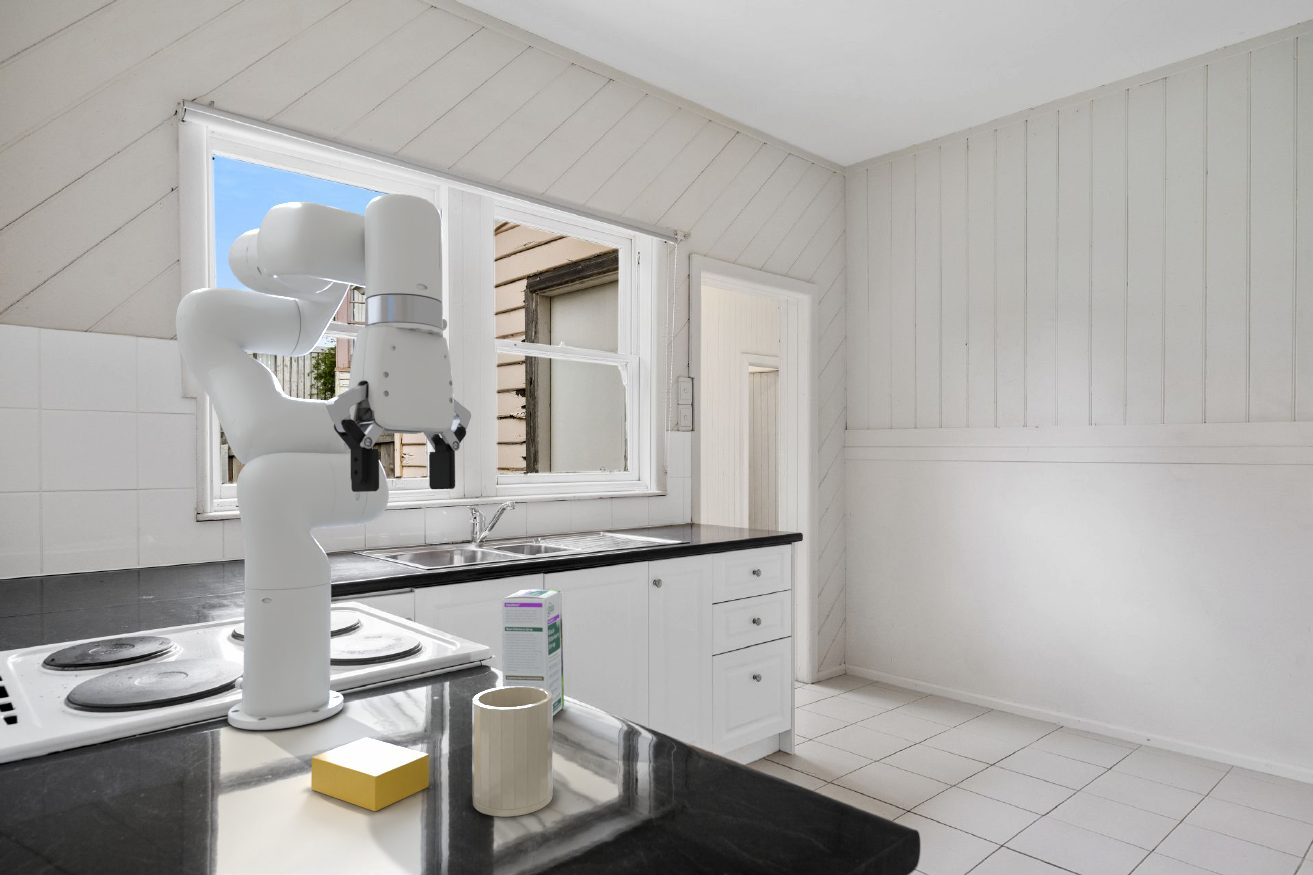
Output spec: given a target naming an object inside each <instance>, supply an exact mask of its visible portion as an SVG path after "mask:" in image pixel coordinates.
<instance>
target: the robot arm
mask: <svg viewBox="0 0 1313 875" xmlns="http://www.w3.org/2000/svg"><path fill="white" fill-rule="evenodd" d="M227 260H228V266H229V269H230V270H231V272H232V275H233V276H234V277H235V278H236V280H237V281H238V282H239V283H241V284H242V285H243V286H245V287H246V288H248V289H250V290H252V291H250V290H245V289H244V290H243V289H237V288H236V289H235V288H229V287H205V288H198V289H195V290H192V291H190V292H189V293H187V294H186V295H184V296H183V297H182V298H181V300H180V301H179V304H178V307H177V309H176V313H175V330H176V331H175V333H176V339H177V345H178V347H179V351H180V355H181V357H182V359H183V361H184V363H185V365H186V367H187V369H188V370H189V372H190V374H191V375H192V377H193V378H194V379H195V380H196V382H197V383H198V384H199V385H200V387H201V388H202V389H203V390H204V392H205V393H206V395H207V396H208V398H209V401H211V403H212V406H213V409H214V412H215V414H216V416H217V419H218V421H219V424H220V427H221V429H222V431H223V433H224V436H225V438H226V441H227V443H228V446H229V448H230V450H231V452H232V453H233V456H234V457H235V458H236V459H237V460H238V461H239V462H240V463H241V464H242V465H244V466H243V467H242V469H241V470H240V472H239V474H238V477H237V480H236V499H237V506H238V510H239V511H238V512H239V517H240V523H241V529H242V539H243V552H244V553H243V556H244V608H243V609H244V610H243V674H242V677H238V678H236V680H235V681H234V687H235V688H236V689H238V690H241V701H240V702H238V703H237V704H235V705H233V706H232V707H231V708H230V709H228V712H227V723H229V725H231V726H232V727H234V728H237V729H241V730H242V729H243V730H250V731H252V730H254V731H268V730H269V731H270V730H281V729H288V728H295V727H300V726H304V725H309V724H313V723H317V722H319V721H320V722H321V721H322V720H325V719H327V718H330V717H332V716H334V715H336V714H337V713H339V712H341V710H342V709H343V708H344V704H345V703H344V701H345V700H344V696H343V695H342V694H341V693H339V692H337V691H335V690H331V649H332V648H331V646H332V645H331V641H332V640H331V639H332V638H331V637H332V636H331V634H332V633H331V631H332V626H331V625H332V567H331V563H330V560H329V557H328V555H327V553H326V552H325V550H324V549H323V547H322V546H321V544H320V543H319V542H318V541H317V540H316V538H315V537H314V535H313V533H312V531H315V530H316V531H317V530H322V529H337V528H350V527H360V526H365V525H370V524H372V523H373V522H375V521H377V520H378V519H380V518H381V517H382V516H383V515H384V513H385V511H386V510H387V506H388V503H389V499H390V498H389V497H390V490H389V483H388V478H387V475H386V472H385V469H384V467H383V465H382V463H381V461H380V451H379V448H373V447H374V445H375V444H376V442H377V441H378V439H380V437H381V435H382V434H385V433H386V434H400V435H401V434H403V435H405V434H406V435H416V434H417V435H418V434H422V433H423V435H424V437H425V438H426V439H427V441H428V442H429V444H430V445H431V447H432V449H433V450H434V451H429V454H428V462H429V463H428V468H429V469H428V482H429V484H428V486H429V488H430V489H431V490H454V489H455V488H456V452H458V451H459V450H460V448H461V442H462V441H463V440H464V439H465V437H466V436H467V429H468V427H469V424H470V421H471V418H472V412H471V411H470V410H469V409H468V408H467V407H465V406H463V404H461V403H460V402H459V401H457V400H456V399H455V398H454V397H455V396H454V382H453V381H454V380H453V372H452V364H451V357H450V352H449V347H448V342H447V338H446V337H444V331H445V330H446V329H447V327H448V321H447V320H446V319H445V318H444V305H443V302H444V301H443V221H442V215H441V212H440V210H439V208H438V207H437V206H436V205H435V204H434V203H432V202H431V201H429V200H427V199H426V198H423V197H420V196H416V195H411V194H406V193H388V194H381V195H378V196H376V197H374V198H372V199H371V200H370V201H369V202H368V204H367V205H366V207H365V211H364V214H361V213H357V212H353V211H350V210H347V209H346V210H345V209H343V208H338V207H335V206H331V205H326V204H321V203H317V202H311V201H309V202H308V201H291V202H285V203H281V204H277V205H273V206H272V207H270V208H269V210H268V211H267V212H266V214H265V215H264V217H263V219H262V220H261V223H260V225H259V227H258V228H254V229H251V230H248V231H245V232H244V233H242V234H240V235H239V236H238V237H237V238H236V239H235V240H234V241H233V242H232V245H231V246H230V247H229V251H228V258H227ZM350 285H353V286H357V287H361V288H364V328H361V329H358V331H357V333H356V337H355V342H354V345H353V350H352V354H351V362H350V369H349V370H350V371H349V379H348V390H346V391H344V392H341V393H340V394H338V395H336V396H334V397H332V398H330V399H328V400H323V399H322V400H321V399H307V398H298V397H292V396H289V395H287V394H285V392H284V390H283V389H282V387H281V384H280V382H279V380H278V378H277V377H276V376H275V374H274V373H273V372H272V371H271V369H269V368H268V367H267V366H266V365H265V364H264V363H262V362H261V361H260V360H259V359H257V358H255V357H254V356H252V355H250V354H251V353H252V354H262V355H271V356H279V357H281V356H282V357H290V358H291V357H293V358H294V357H296V358H297V357H302V356H306V355H307V354H309V353H311V352H312V351H313V350H314V348H316V347H317V345H318V343H319V342H320V340H321V339H322V337H323V335H324V333H325V332H326V330H327V328H328V326H329V325H330V323H331V321H332V320H333V318H334V316H335V315H336V313H337V311H338V310H339V308H340V306H341V304H342V303H343V301H344V299H345V298H346V295H347V294H348V290H349V288H350ZM249 353H250V354H249Z"/></svg>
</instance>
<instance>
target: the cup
mask: <svg viewBox="0 0 1313 875" xmlns="http://www.w3.org/2000/svg"><path fill="white" fill-rule="evenodd" d="M471 702H472V704H471V705H472V708H471V709H472V711H471V712H472V714H471V718H472V721H471V722H472V723H471V729H472V731H471V732H472V733H471V734H472V735H471V737H472V738H471V742H472V743H471V755H472V756H471V761H472V762H471V764H472V765H471V796H472V806H473V808H474V809H475V811H477V812H479V813H480V814H484V815H488V816H492V817H501V818H502V817H503V818H504V817H505V818H508V817H518V816H522V815H528V814H531V813H534V812H537V811H540V810H542V809H543V808H545V807H547V805H549V804H550V803H551V801H552V799H553V795H554V794H553V792H554V790H553V789H554V767H553V766H554V754H553V753H554V750H553V749H554V748H553V747H554V746H553V745H554V742H553V741H554V740H553V739H554V738H553V737H554V736H553V734H554V733H553V732H554V729H553V728H554V726H553V724H554V723H553V722H554V720H553V719H554V716H553V695H552V693H551V692H550V691H549V690H546V689H544V688H540V687H533V686H507V687H503V686H499V687H495V688H490V689H486V690H484V691H480V692H479V693H478V694H476V695H474V696H473V698H472V701H471Z"/></svg>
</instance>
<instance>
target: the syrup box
mask: <svg viewBox="0 0 1313 875" xmlns="http://www.w3.org/2000/svg"><path fill="white" fill-rule="evenodd" d="M562 594H563V593H562V591H561V590H557V589H545V588H531V589H519V590H518V591H517V592H515V593H512V594H510V595H508V596H504V597H502V598H501V600H500V601H501V651H502V652H501V654H502V656H501V657H502V659H501V660H502V687H507V686H533V687H540V688H544V689H546V690H549V691H550V692H551V693H552V695H553V717H554V716H555V715H556V714H557V713H558V712H560V711H561V710H562V709H563V708H564V707H565V693H564V692H565V689H564V687H565V686H564V639H563V638H564V636H563V595H562Z"/></svg>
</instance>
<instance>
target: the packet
mask: <svg viewBox="0 0 1313 875" xmlns="http://www.w3.org/2000/svg"><path fill="white" fill-rule="evenodd" d="M310 786H311V787H310V788H311V790H312V791H315V792H318V793H320V794H323V795H326V796H329V797H332V798H335V799H338V800H341V801H343V802H346V803H349V804H352V805H355V806H359V807H361V808H363V809H366V810H368V811H369V810H370V811H372V812H377V811H380V810H382V809H384V808H386V807H388V806H390V805H392V804H395V803H396V802H399V801H401V800H403V799H405V798H407V797H410V796H412V795H414V794H416V793H419V792H421V791H423V790H424V789H425V790H426V789H428V788H429V787H430V754H429V753H426V752H422V751H418V750H415V749H410V748H407V747H404V746H400V745H396V744H392V743H389V742H385V741H382V740H377V739H374V738H371V737H363V738H361V739H357V740H355V741H352V742H349V743H347V744H344V745H341V746H338V747H336V748H333V749H330V750H327V751H325V752H322V753H318V754H316V755H313V756H312V757H311V784H310Z"/></svg>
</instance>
